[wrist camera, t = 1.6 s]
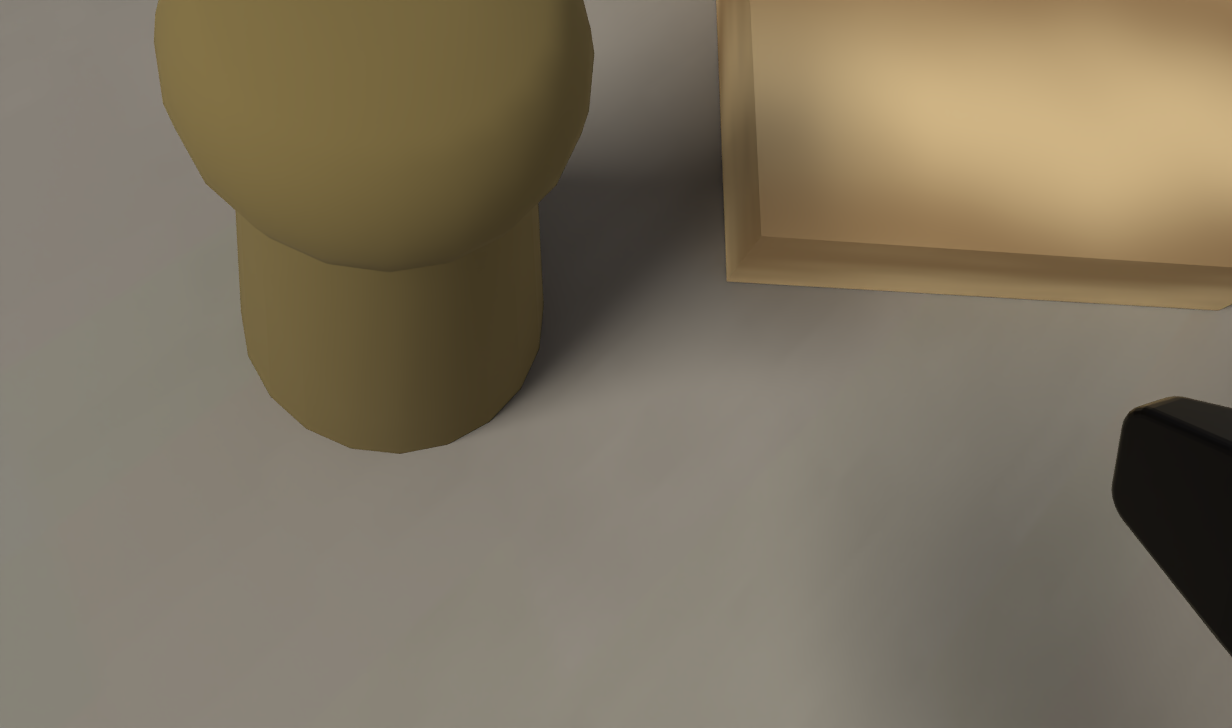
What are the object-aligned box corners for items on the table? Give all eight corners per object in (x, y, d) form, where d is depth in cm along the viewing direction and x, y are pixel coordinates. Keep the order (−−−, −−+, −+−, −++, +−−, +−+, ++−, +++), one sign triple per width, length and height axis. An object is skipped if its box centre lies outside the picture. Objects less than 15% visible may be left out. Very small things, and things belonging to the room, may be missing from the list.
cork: (534, 174, 23) (629, -234, 13) (552, 447, 22) (676, 228, 11) (243, 172, 22) (93, -277, 12) (238, 460, 21) (58, 230, 10)
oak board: (1218, 310, 26) (1300, 271, 23) (726, 281, 24) (761, 236, 21) (1144, -113, 29) (1209, -184, 27) (709, -170, 27) (737, -253, 25)
